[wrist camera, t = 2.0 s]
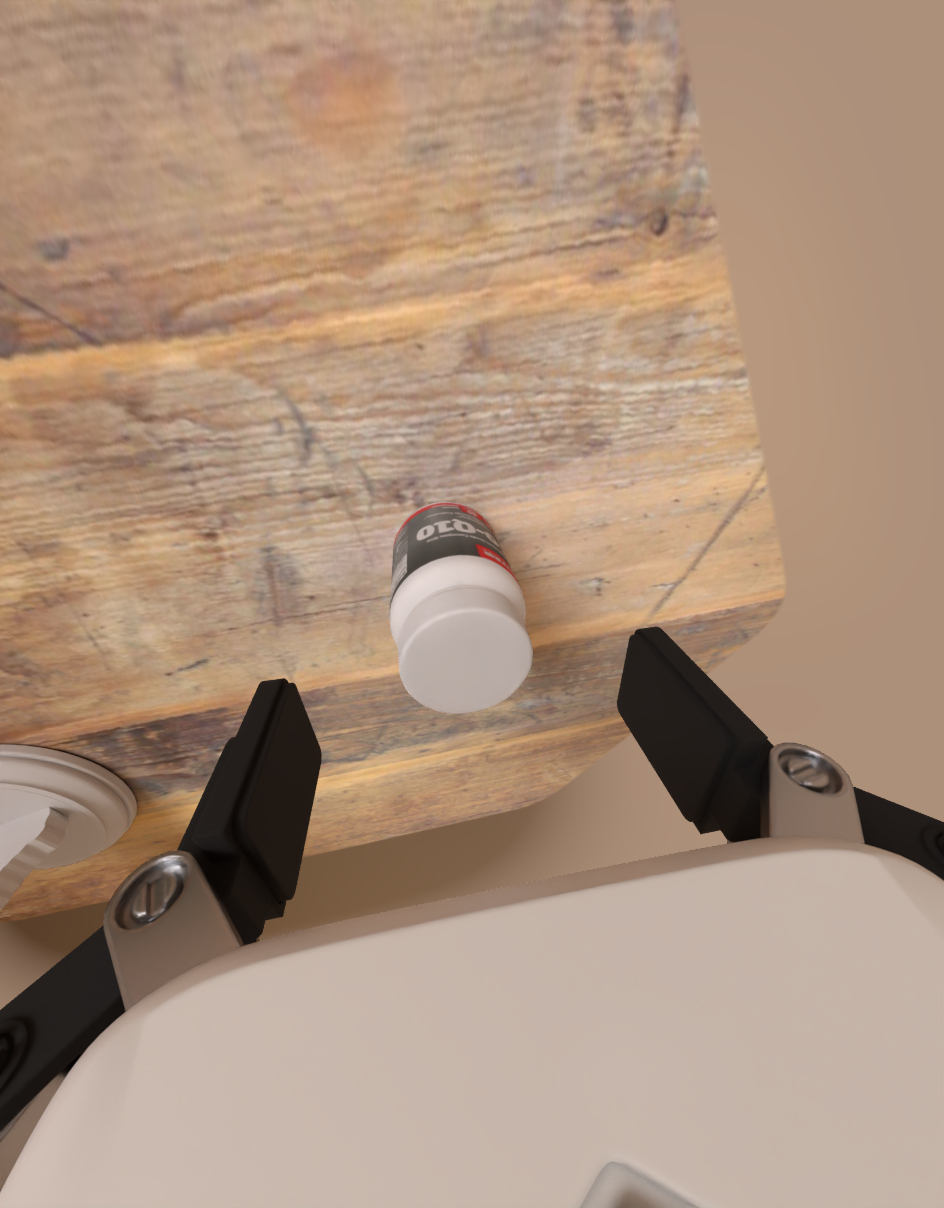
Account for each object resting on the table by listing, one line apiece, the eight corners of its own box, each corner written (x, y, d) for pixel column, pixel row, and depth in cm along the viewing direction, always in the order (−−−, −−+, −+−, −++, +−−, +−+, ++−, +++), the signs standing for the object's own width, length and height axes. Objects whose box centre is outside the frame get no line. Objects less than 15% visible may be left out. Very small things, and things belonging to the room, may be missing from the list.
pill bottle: (506, 512, 18) (573, 611, 11) (478, 599, 20) (518, 727, 13) (403, 487, 17) (404, 582, 10) (384, 583, 19) (375, 716, 12)
